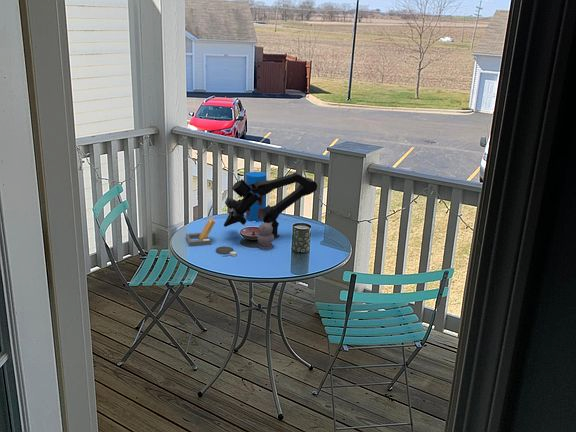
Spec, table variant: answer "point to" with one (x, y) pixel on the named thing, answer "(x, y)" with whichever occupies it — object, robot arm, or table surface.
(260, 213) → the robot arm
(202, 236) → the block
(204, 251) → the table surface
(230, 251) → the ping pong paddle
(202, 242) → the breaker housing
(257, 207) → the thermos
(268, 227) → the cat figurine
